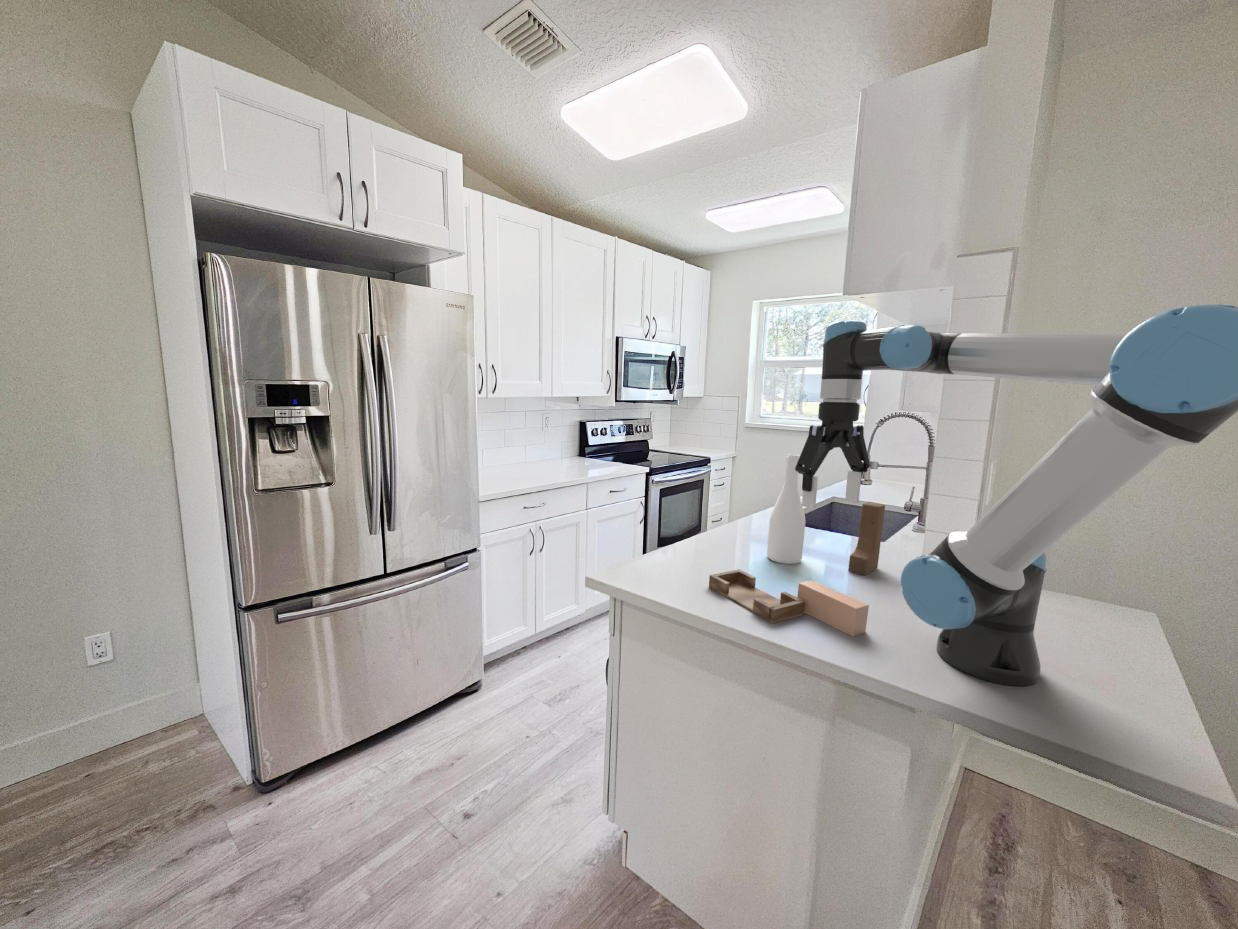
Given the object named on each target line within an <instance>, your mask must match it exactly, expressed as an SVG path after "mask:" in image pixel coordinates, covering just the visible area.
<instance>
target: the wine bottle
mask: <svg viewBox="0 0 1238 929" xmlns="http://www.w3.org/2000/svg"><path fill="white" fill-rule="evenodd" d="M800 455H801V454H796V453H788V454H787V455H786V460H785V462H786V466H785V476H784V483H783V486H782V489H781V491H780V493H779V495H778V498H777V500H776V502H775V504H774V505H773V506H774V507H773V509H772V511H771V512H770V517H769V522H768V523H769V525H768V537H767V547H766V556H767V558H768V559H769V560H771V561H773V562H776V563H778V564H785V565H794V564H799V563H801V561H802V559H803V550H804V541H805V533H806V532H805V530H806V521H807V520H806V516H805V512H804V506H802V498H801V496H800V495H801V494H800V492H799V485H798V482H799V481H798V480H799V473H798V472H797V471H796V470H795V467H796V465H797V462H798V460H799V457H800Z"/></svg>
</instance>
